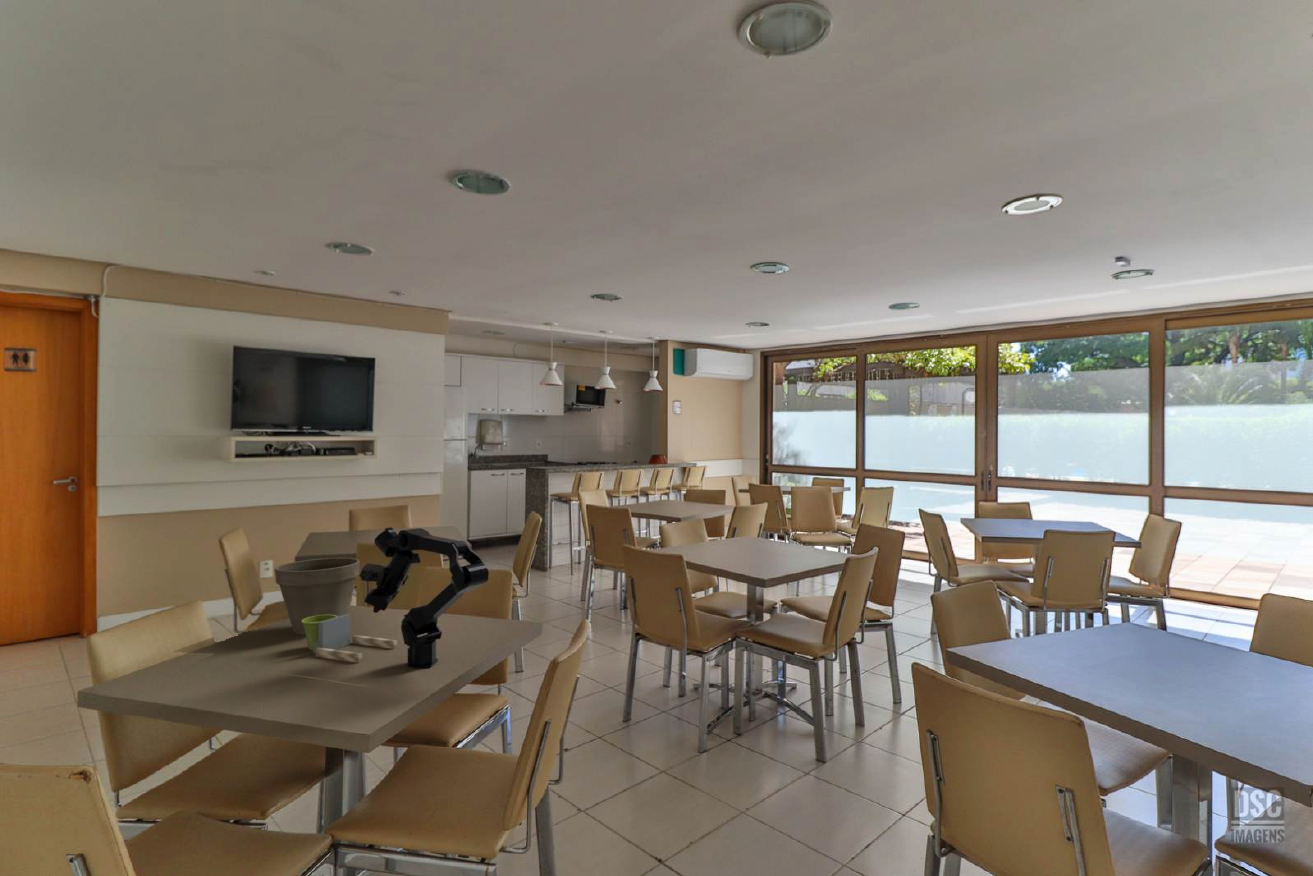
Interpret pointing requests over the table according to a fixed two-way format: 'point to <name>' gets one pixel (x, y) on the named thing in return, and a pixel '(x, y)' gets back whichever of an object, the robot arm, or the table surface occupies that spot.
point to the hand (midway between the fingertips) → (375, 612)
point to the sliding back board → (333, 633)
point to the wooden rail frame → (353, 655)
